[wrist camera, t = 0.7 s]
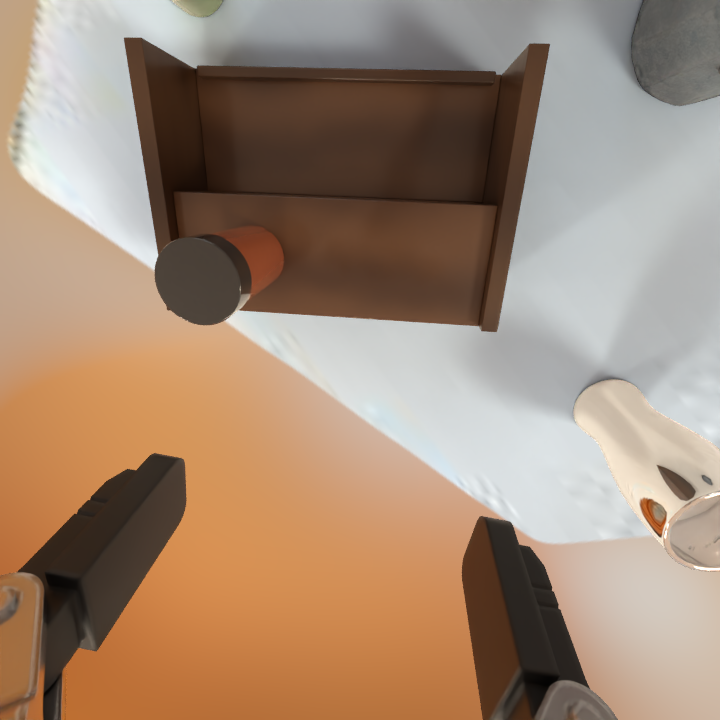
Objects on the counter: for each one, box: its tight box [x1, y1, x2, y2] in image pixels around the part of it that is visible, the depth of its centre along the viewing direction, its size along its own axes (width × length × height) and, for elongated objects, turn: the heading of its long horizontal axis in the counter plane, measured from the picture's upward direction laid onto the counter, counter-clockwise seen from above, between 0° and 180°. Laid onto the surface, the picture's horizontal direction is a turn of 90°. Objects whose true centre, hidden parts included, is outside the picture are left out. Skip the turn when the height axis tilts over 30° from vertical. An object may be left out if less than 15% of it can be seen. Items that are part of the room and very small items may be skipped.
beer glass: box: [573, 379, 720, 571], centre depth 31 cm, size 7×7×15 cm
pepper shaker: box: [155, 225, 284, 325], centre depth 23 cm, size 4×4×8 cm
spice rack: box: [124, 38, 550, 332], centre depth 28 cm, size 15×22×10 cm
